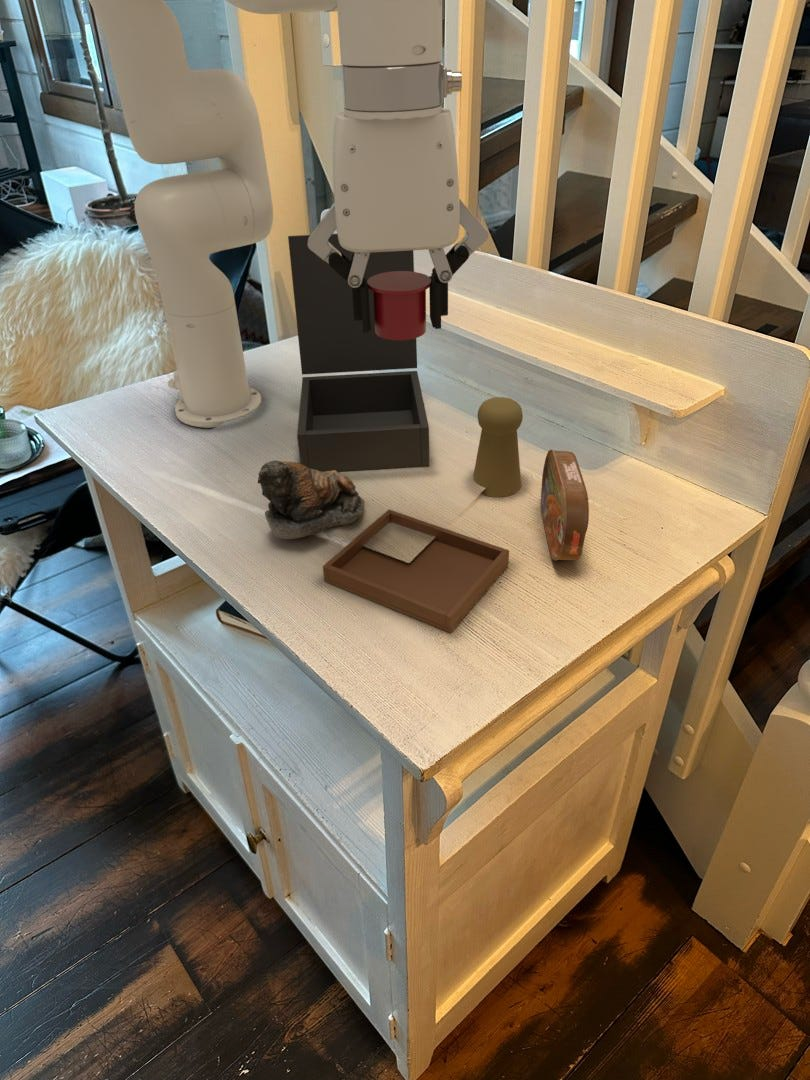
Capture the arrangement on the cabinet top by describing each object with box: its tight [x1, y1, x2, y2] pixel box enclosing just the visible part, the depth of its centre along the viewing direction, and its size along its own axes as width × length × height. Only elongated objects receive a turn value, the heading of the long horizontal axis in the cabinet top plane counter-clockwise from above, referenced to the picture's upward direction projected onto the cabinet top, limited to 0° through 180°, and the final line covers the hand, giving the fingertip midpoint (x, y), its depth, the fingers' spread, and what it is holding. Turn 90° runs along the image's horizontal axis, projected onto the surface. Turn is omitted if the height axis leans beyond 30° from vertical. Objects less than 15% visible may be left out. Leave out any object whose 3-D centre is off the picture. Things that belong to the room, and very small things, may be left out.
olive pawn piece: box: [472, 396, 524, 498], centre depth 90 cm, size 6×6×11 cm
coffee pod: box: [367, 271, 431, 340], centre depth 67 cm, size 6×6×4 cm
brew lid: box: [287, 233, 418, 376], centre depth 103 cm, size 18×16×5 cm
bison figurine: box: [257, 460, 366, 540], centre depth 84 cm, size 12×7×10 cm, turn 124°
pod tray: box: [322, 509, 510, 634], centre depth 79 cm, size 15×12×2 cm
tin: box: [540, 449, 590, 561], centre depth 82 cm, size 15×3×8 cm, turn 178°
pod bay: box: [296, 370, 430, 473], centre depth 100 cm, size 17×16×6 cm
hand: (400, 323), depth 68 cm, fingers closed on coffee pod, 5 cm apart
